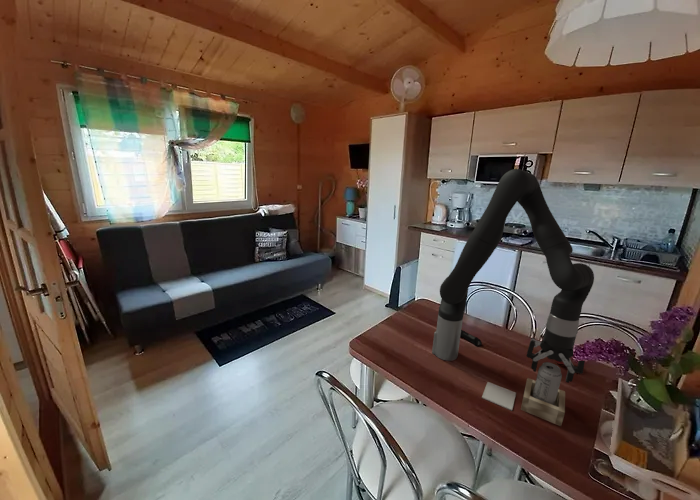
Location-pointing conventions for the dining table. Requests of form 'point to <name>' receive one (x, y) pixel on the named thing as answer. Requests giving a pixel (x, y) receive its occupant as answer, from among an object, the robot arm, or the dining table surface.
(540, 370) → the energy drink can
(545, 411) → the pocket holder
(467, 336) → the electric trimmer
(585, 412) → the dining table surface
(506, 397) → the grey pad
